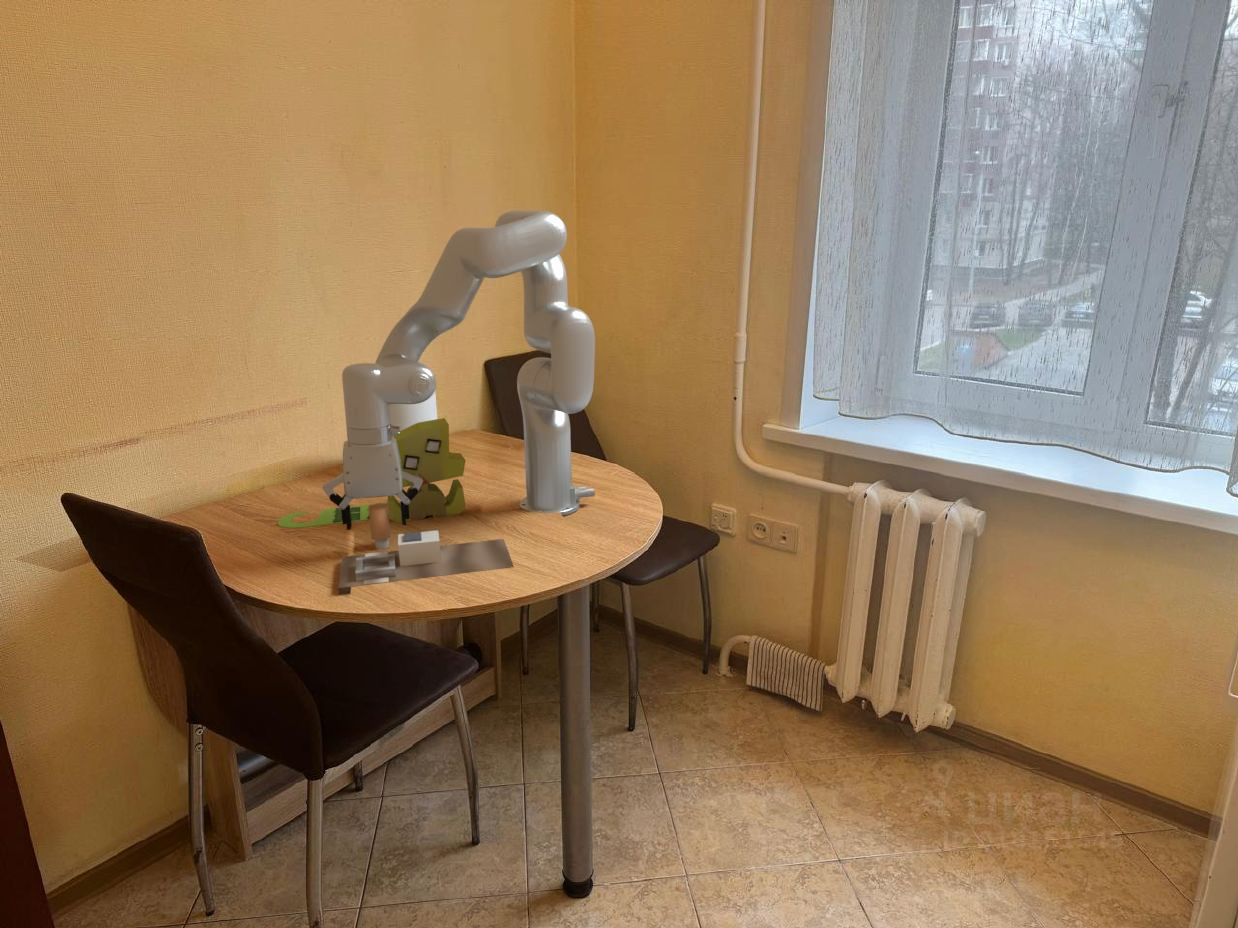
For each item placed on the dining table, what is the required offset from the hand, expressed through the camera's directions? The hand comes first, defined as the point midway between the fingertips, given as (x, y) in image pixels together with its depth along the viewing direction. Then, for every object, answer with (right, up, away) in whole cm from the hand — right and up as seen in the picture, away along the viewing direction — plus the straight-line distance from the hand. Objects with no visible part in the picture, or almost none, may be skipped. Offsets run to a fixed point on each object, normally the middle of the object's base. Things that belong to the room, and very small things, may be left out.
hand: (376, 525), depth 151 cm
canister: (-5, +9, +47) cm, 48 cm away
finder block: (+9, -6, -4) cm, 11 cm away
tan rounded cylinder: (+1, -5, +2) cm, 6 cm away
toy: (+5, 0, +18) cm, 19 cm away
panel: (+10, -7, -5) cm, 13 cm away
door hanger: (-13, 0, +20) cm, 24 cm away
